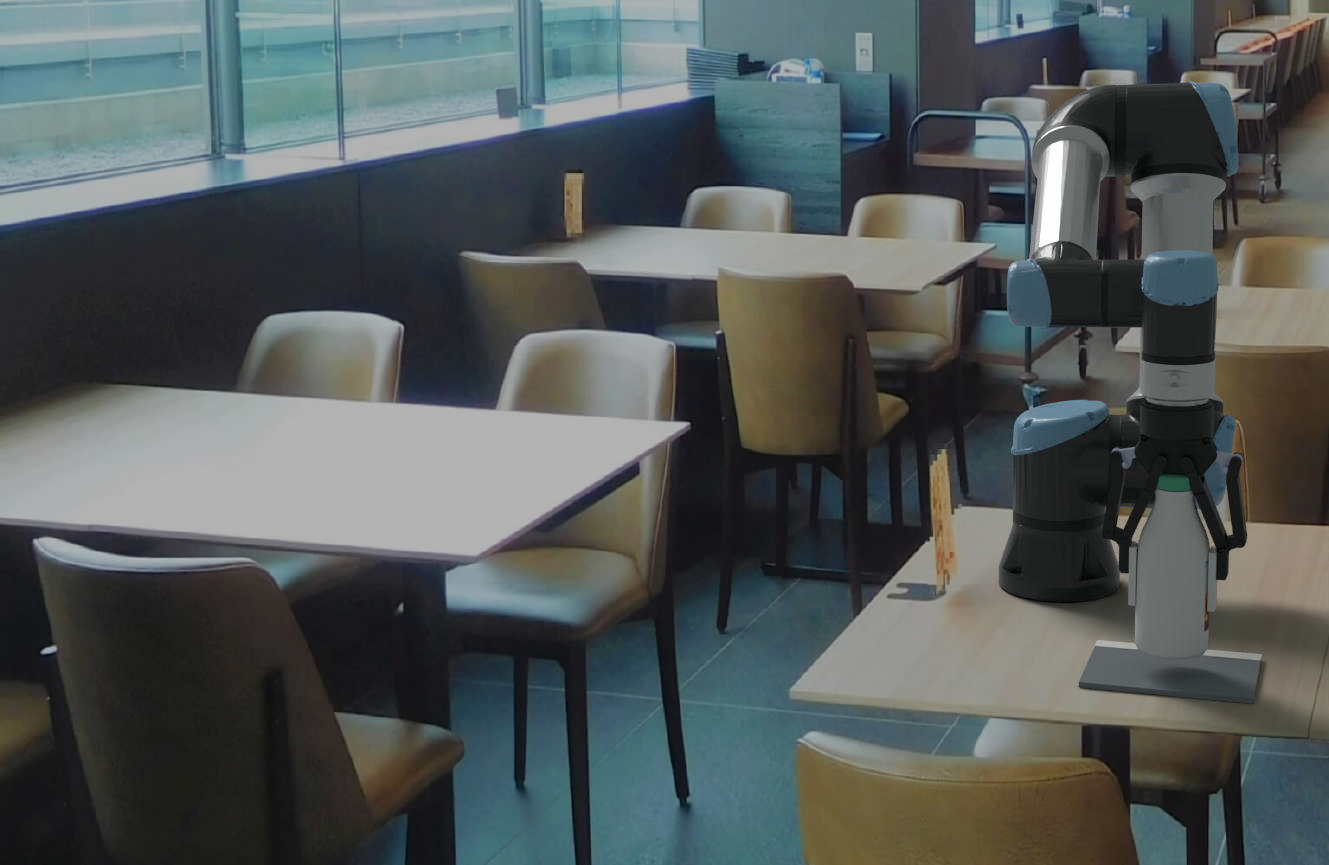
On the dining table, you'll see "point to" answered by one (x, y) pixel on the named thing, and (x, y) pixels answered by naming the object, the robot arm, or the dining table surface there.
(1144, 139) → the robot arm
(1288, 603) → the dining table surface
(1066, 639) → the dining table surface
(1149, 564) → the milk bottle
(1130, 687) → the mat
